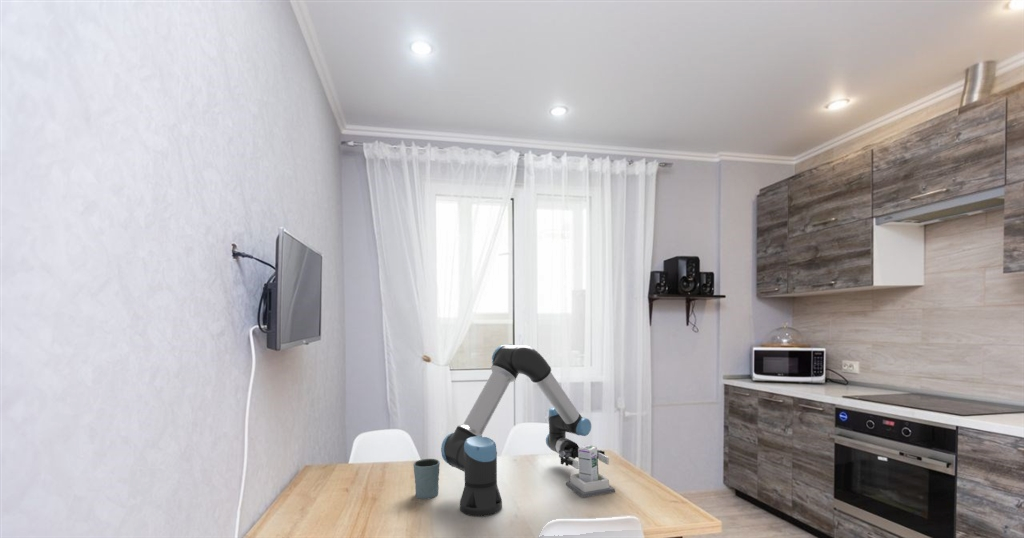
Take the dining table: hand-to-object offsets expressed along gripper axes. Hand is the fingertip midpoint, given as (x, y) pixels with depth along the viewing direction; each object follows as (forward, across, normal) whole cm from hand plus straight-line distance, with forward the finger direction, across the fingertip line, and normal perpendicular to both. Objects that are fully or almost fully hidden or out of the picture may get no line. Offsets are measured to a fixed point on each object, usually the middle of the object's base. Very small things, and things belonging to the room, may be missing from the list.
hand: (593, 463), depth 175 cm
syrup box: (-3, 0, -10) cm, 10 cm away
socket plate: (-3, 0, -10) cm, 11 cm away
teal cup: (-23, +61, -11) cm, 66 cm away
